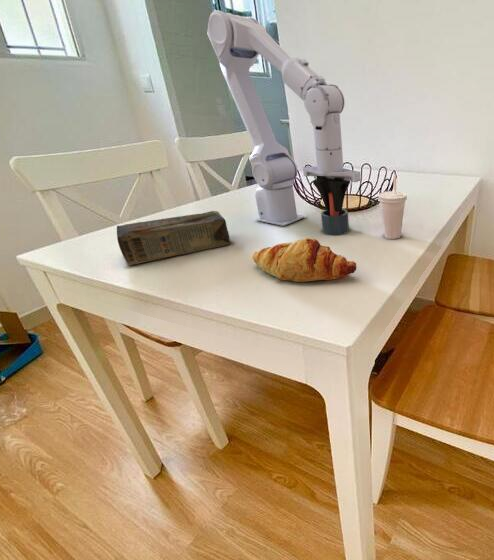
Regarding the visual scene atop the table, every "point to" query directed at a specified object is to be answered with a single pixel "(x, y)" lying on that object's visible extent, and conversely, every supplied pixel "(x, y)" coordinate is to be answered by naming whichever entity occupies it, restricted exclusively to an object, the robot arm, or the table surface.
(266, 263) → the croissant
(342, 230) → the cup
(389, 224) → the smoothie
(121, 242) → the coffee bag
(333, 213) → the red rectangular block
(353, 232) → the table surface
